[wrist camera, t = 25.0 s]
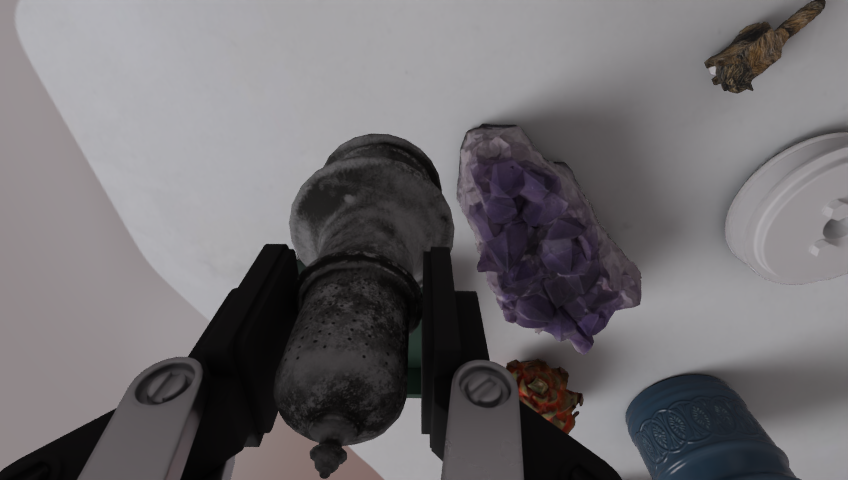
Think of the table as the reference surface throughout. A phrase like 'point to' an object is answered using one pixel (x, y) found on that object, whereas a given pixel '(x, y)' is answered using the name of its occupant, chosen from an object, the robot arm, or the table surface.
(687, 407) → the canister
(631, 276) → the geode
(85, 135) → the table surface
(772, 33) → the cat figurine
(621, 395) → the table surface
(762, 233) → the lid
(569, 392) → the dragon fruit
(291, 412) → the grey tall stone piece
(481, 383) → the robot arm
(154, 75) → the table surface
